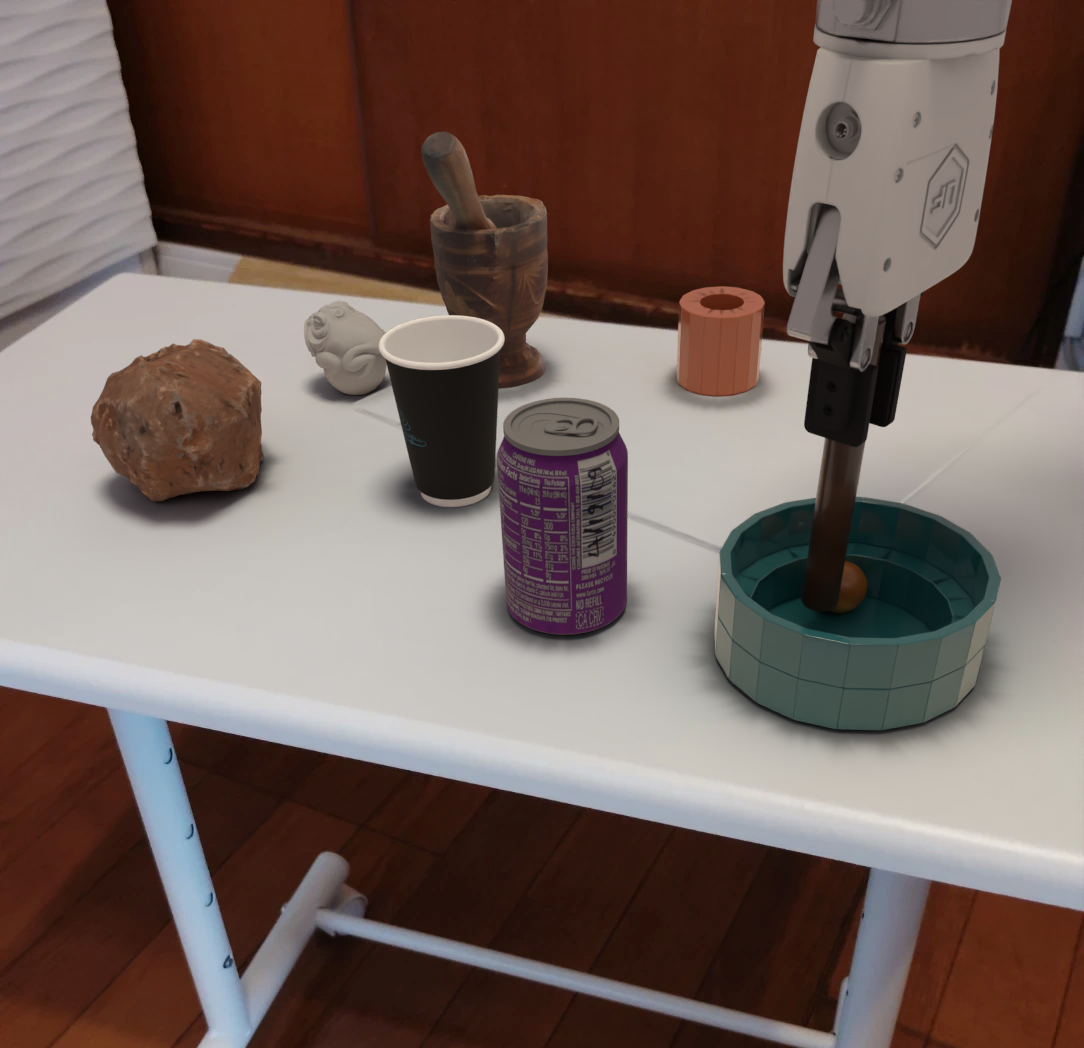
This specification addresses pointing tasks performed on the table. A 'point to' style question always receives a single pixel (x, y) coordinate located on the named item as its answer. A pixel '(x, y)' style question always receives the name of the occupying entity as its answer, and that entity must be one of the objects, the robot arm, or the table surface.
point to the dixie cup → (447, 403)
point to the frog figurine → (346, 347)
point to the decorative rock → (182, 421)
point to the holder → (719, 340)
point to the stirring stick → (834, 511)
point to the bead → (851, 588)
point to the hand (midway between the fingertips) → (848, 425)
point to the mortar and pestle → (489, 256)
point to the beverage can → (564, 515)
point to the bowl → (856, 617)
